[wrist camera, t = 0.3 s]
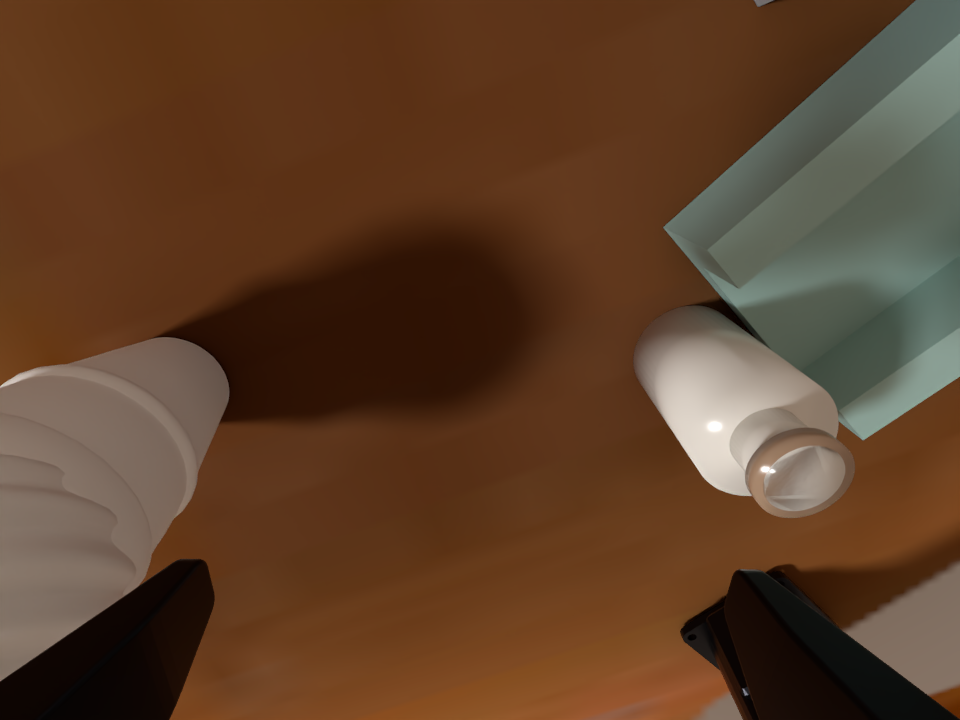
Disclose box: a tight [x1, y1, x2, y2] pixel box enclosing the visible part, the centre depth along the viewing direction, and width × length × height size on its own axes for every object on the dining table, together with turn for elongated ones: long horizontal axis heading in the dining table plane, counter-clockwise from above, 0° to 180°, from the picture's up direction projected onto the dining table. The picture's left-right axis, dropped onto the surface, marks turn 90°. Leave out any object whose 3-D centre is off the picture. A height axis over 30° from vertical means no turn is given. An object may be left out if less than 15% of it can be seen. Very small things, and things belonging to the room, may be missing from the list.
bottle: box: [633, 305, 855, 518], centre depth 18 cm, size 4×4×8 cm
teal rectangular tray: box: [663, 0, 960, 440], centre depth 17 cm, size 10×12×4 cm
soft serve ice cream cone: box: [0, 337, 229, 681], centre depth 15 cm, size 8×8×16 cm
